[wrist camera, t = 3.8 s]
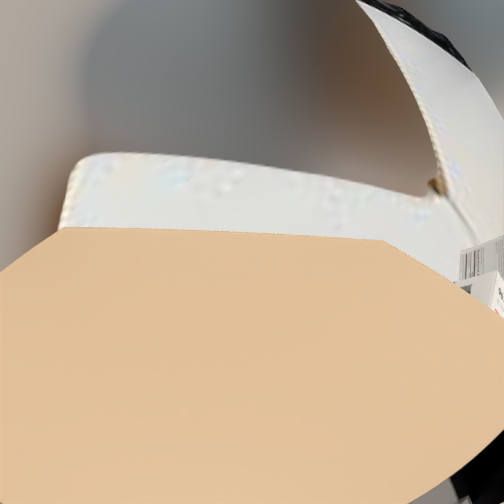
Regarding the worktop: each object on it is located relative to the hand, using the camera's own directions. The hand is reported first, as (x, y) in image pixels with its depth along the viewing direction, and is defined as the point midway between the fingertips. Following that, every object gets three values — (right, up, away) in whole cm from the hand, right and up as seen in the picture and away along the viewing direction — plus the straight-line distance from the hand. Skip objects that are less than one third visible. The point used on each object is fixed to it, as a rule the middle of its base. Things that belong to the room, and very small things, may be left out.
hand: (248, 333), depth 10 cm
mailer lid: (0, +1, -1) cm, 2 cm away
